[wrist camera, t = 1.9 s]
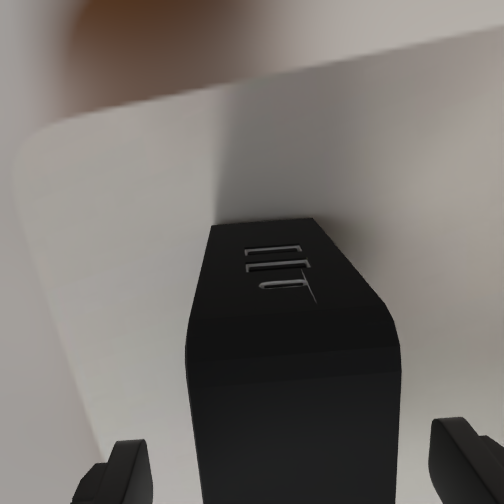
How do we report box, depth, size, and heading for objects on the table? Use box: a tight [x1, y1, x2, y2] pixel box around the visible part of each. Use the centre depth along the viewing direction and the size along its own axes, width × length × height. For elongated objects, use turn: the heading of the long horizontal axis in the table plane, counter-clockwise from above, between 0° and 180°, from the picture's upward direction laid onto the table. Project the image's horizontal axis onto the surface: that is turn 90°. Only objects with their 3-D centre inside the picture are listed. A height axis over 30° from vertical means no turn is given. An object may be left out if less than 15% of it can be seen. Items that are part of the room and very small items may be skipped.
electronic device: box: [185, 218, 402, 504], centre depth 14 cm, size 4×10×10 cm, turn 4°
